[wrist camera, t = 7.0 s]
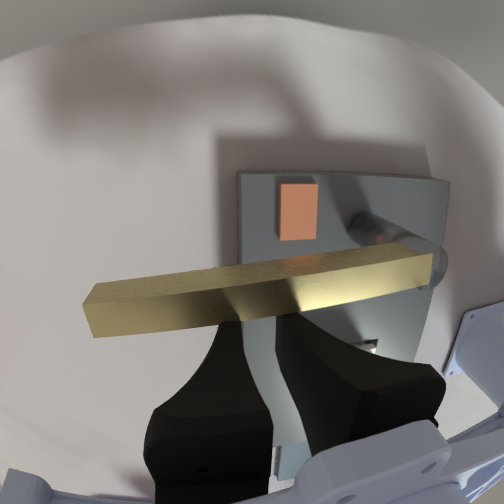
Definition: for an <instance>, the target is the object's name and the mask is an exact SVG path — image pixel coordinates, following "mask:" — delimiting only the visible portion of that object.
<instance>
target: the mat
mask: <svg viewBox="0 0 504 504" xmlns="http://www.w3.org/2000/svg"><path fill="white" fill-rule="evenodd" d="M310 458H312V456H311V452H310V449H309V445H308V441H306V442H301V443H296V444H290V445H284V446H280V453H279V462H278V471H277V480H278V481H281V480H286V479H292V478H295V476H296V474H297V473H298V471H299V470H300V468H301V467H302V465H303V464H304V463H305V462H306V461H307V460H309V459H310Z"/></svg>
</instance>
